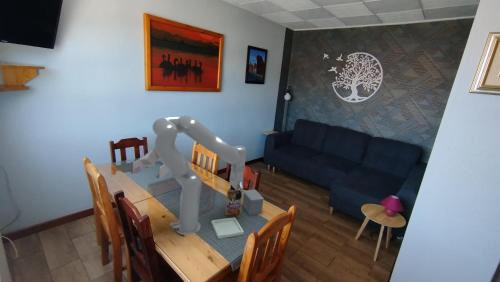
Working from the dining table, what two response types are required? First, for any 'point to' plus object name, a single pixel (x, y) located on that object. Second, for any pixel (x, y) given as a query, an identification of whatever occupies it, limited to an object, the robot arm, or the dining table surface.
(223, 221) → the tray
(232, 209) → the candy box
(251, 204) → the block
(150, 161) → the casing
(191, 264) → the dining table surface
